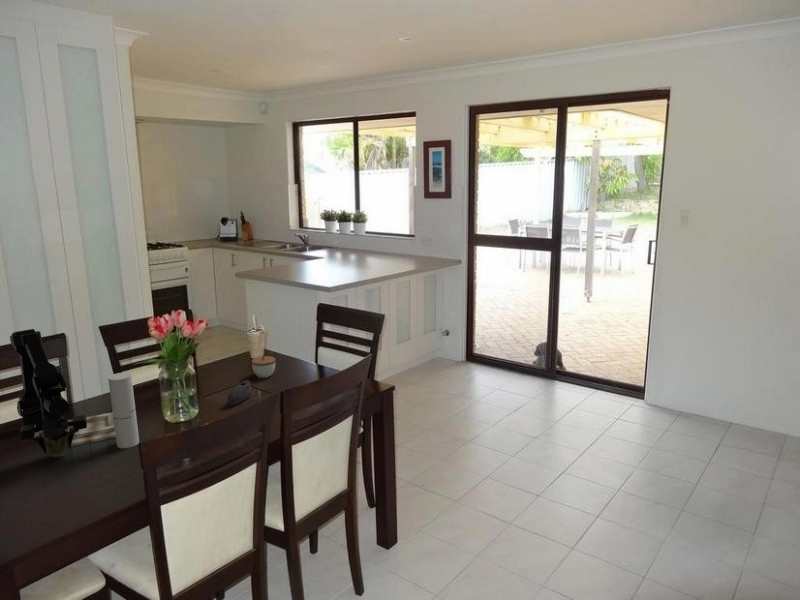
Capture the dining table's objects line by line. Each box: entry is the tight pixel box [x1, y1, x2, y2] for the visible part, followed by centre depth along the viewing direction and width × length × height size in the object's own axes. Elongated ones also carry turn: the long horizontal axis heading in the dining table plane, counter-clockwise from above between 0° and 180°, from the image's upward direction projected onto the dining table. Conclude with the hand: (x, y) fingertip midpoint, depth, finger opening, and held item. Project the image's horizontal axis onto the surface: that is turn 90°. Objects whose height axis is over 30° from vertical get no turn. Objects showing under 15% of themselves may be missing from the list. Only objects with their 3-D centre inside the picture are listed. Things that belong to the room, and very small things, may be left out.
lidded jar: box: [251, 355, 276, 379], centre depth 263 cm, size 11×11×9 cm
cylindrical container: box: [107, 372, 140, 449], centre depth 196 cm, size 7×7×25 cm
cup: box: [43, 430, 69, 459], centre depth 189 cm, size 8×7×8 cm
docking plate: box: [66, 412, 116, 448], centre depth 209 cm, size 22×22×2 cm
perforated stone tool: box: [227, 379, 252, 406], centre depth 234 cm, size 15×5×7 cm, turn 160°
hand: (58, 450), depth 189 cm, fingers closed on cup, 6 cm apart
